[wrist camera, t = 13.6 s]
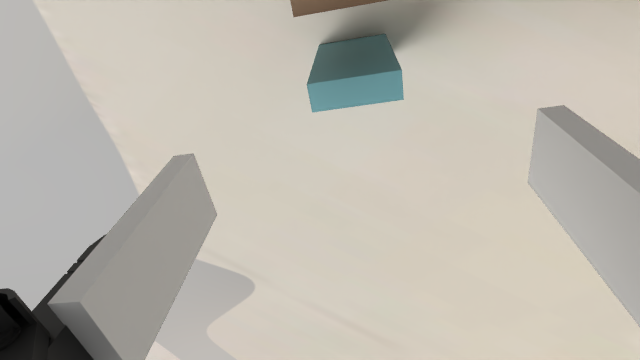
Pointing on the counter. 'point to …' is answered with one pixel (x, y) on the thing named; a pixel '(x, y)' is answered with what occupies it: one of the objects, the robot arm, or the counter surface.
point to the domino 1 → (324, 5)
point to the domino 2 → (354, 74)
